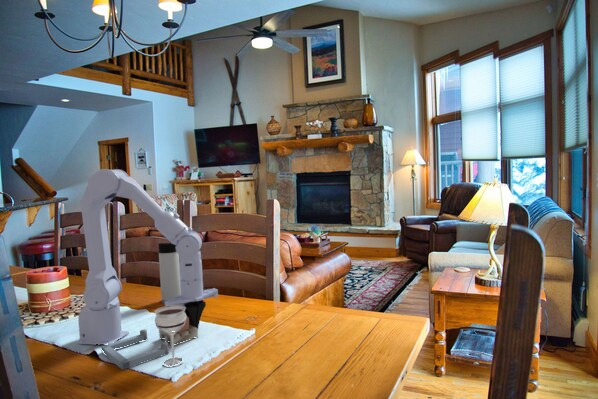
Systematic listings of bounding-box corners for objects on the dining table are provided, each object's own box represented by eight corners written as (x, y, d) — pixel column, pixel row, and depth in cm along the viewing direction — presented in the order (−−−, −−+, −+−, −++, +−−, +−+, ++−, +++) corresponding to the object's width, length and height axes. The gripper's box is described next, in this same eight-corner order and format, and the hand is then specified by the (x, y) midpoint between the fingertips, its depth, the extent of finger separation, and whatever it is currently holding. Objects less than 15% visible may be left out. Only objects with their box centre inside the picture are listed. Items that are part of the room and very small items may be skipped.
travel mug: (157, 303, 133) (153, 243, 132) (169, 297, 139) (165, 239, 138) (173, 304, 131) (169, 243, 130) (184, 298, 137) (181, 240, 136)
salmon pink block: (174, 333, 101) (174, 321, 101) (167, 329, 104) (166, 317, 104) (189, 328, 104) (188, 317, 104) (181, 324, 107) (180, 313, 107)
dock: (123, 370, 88) (122, 359, 88) (101, 352, 97) (100, 342, 97) (169, 353, 95) (169, 343, 95) (145, 338, 105) (145, 329, 104)
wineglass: (177, 352, 95) (174, 303, 95) (195, 360, 91) (192, 308, 90) (151, 364, 90) (148, 311, 89) (168, 372, 86) (165, 317, 85)
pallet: (172, 346, 99) (172, 336, 99) (159, 338, 104) (158, 329, 104) (197, 337, 104) (197, 328, 104) (184, 330, 109) (183, 321, 109)
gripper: (173, 287, 98) (176, 342, 99) (223, 275, 108) (225, 324, 109) (159, 282, 103) (162, 334, 104) (208, 271, 113) (211, 318, 114)
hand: (194, 329), depth 107 cm, fingers closed
